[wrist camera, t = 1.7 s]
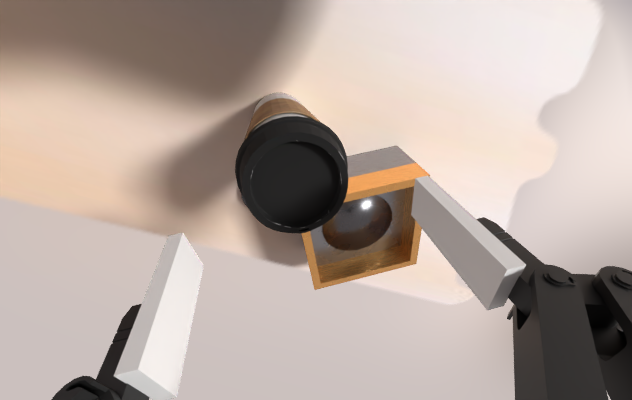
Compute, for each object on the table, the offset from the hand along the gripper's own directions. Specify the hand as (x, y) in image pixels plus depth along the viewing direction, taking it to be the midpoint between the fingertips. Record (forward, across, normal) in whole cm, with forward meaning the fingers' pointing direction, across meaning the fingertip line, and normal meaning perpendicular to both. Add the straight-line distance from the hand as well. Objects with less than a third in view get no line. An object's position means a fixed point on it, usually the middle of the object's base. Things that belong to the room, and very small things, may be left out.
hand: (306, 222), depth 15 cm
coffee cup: (+18, 0, 0) cm, 19 cm away
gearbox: (+18, +7, -14) cm, 24 cm away
